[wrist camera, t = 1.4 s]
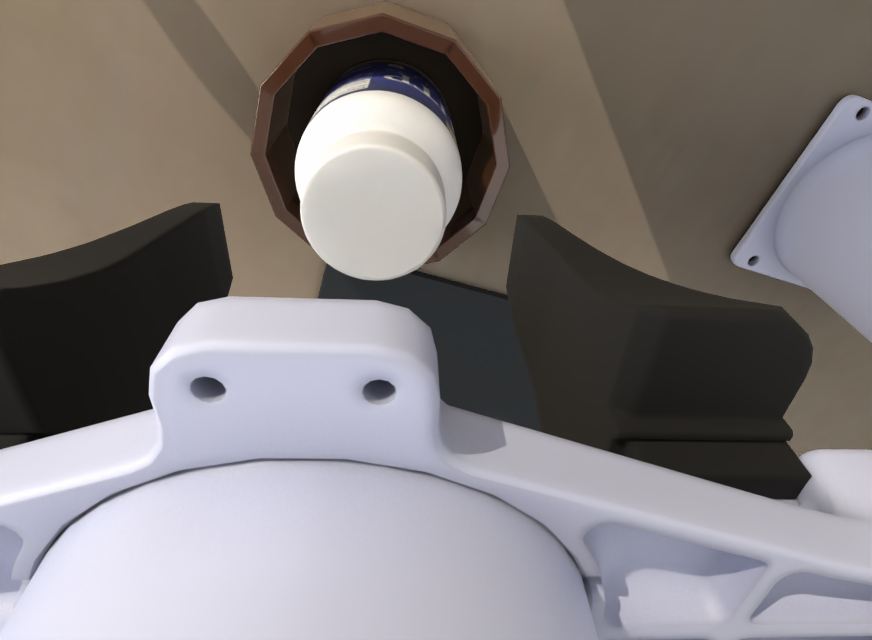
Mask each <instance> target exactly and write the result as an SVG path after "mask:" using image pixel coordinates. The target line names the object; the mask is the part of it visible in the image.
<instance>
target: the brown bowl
mask: <svg viewBox="0 0 872 640" xmlns="http://www.w3.org/2000/svg"><path fill="white" fill-rule="evenodd" d="M381 32H384V33H386V34H389V35H392V36H395V37H398V38H400V39H403V40H406V41H409V42H411V43H414V44H417V45H420V46H423V47H425V48H428V49H431V50H434V51H437V52H439V53H442V54H445V55H446V56H447V57H448V58H449V59H450V61H451V62H452V63H453V64H454V66H455V67H456V68H457V69H458V71H459V72H460V73H461V74H462V76H463V77H464V78H465V79H466V81H467V82H468V83H469V84H470V85H471V87H472V88H473V89H474V90H475V92H476V93H477V97H478V104H479V110H480V117H481V123H482V130H483V134H482V137H481V139H480V142H479V145H478V147H477V150H476V153H475V155H474V158H473V161H472V163H471V166H470V169H469V172H468V174H467V177H466V179H465V180H464V181H463V182H462V189H461V195H460V199H459V202H458V205H457V208H456V210H455V212H454V214H453V216H452V218H451V220H450V222H449V223H448V224H447V226H446V227H445V231H444V234H443V237H442V240H441V242H440V244H439V246H438V248H437V249H436V251H435V252H434V253H433V255H432V256H431V257H430V258H429V259H428V260H427V261H426V262H425V263H424V264H427V263H432V262H437V261H440V260H441V259H443V258H444V257H445V256H446V255H448V254H449V253H450V252H451V251H453V250H454V249H455V248H456V247H458V246H459V245H460V244H461V243H463V242H464V241H465V240H466V239H468V238H469V237H470V236H471V235H473V234H474V233H475V232H476V231H478V230H479V229H480V228H481V227H483V226H484V225H485V224H486V223H487V220H488V218H489V215H490V213H491V211H492V208H493V206H494V203H495V201H496V199H497V196H498V194H499V191H500V189H501V186H502V184H503V182H504V179H505V177H506V174H507V172H508V170H509V167H510V162H509V155H508V147H507V139H506V132H505V124H504V116H503V108H502V101H501V97H500V95H499V94H498V92H497V90H496V88H495V87H494V85H493V83H492V81H491V80H490V78H489V76H488V75H487V73H486V72H485V70H484V69H483V68H482V67H481V65H480V64H479V63H478V61H477V60H476V59H475V58H474V56H473V55H472V54H471V52H470V51H469V50H468V49H467V47H466V46H465V45H464V43H463V42H462V41H461V40H460V38H459V37H458V36H457V34H456V33H455V32H454V31H453V29H452V28H451V27H450V25H449V24H448V23H446V22H443V21H440V20H437V19H435V18H432V17H429V16H427V15H424V14H421V13H419V12H416V11H413V10H411V9H408V8H405V7H403V6H400V5H397V4H395V3H392V2H389V1H383V2H379V3H375V4H371V5H367V6H363V7H359V8H355V9H351V10H347V11H342V12H338V13H334V14H330V15H326V16H324V17H323V18H322V19H321V20H320V21H318V22H317V23H316V24H315V25H314V26H313V27H312V28H311V29H310V30H309V31H308V32H307V33H306V34H305V35H304V36H303V37H302V38H301V40H300V41H299V42H298V43H297V44H296V45H295V46H294V47H293V49H292V50H291V51H290V52H289V53H288V54H287V55H286V56H285V58H284V59H283V60H282V61H281V62H280V63H279V64H278V66H277V67H276V68H275V69H274V70H273V71H272V72H271V73H270V75H269V76H268V77H267V78H266V79H265V80H264V81H263V83H262V84H261V85H260V89H259V96H258V104H257V111H256V118H255V125H254V132H253V139H252V146H251V153H250V154H251V157H252V159H253V162H254V164H255V167H256V169H257V172H258V174H259V177H260V179H261V182H262V184H263V186H264V189H265V191H266V194H267V196H268V199H269V201H270V204H271V206H272V209H273V211H274V213H275V216H276V217H277V218H278V219H280V220H281V221H282V222H283V223H284V224H285V225H287V226H288V227H289V228H290V229H291V230H292V231H294V232H295V233H296V234H297V235H298V236H299V237H301V238H302V239H303V240H304V241H305V242H306V243H308V244H309V245H310V246H311V244H310V243H309V241H308V239H307V237H306V235H305V232H304V229H303V226H302V222H301V215H300V202H301V201H300V198H299V195H298V192H297V188H296V182H295V159H296V154H297V150H296V148H295V145H294V142H293V139H292V136H291V133H290V131H289V128H288V125H287V120H288V114H289V108H290V103H291V97H292V91H293V85H294V79H295V74H296V71H297V70H298V69H299V68H300V67H301V66H302V65H303V64H304V62H305V61H306V60H307V59H308V58H309V57H310V56H311V55H312V54H313V53H314V51H315V50H316V49H317V48H318V47H322V46H327V45H331V44H335V43H339V42H343V41H347V40H352V39H356V38H360V37H364V36H368V35H373V34H377V33H381ZM311 247H312V246H311ZM312 248H313V247H312Z"/></svg>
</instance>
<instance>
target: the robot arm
mask: <svg viewBox="0 0 872 640" xmlns="http://www.w3.org/2000/svg"><path fill="white" fill-rule="evenodd" d="M861 108H863V111H862V113H861V114H860V115H859V116H858V117H856V114H857V112H858V111H859V110H860V109H861ZM753 256H755V257H754V259H753V260H752V261H749V262H748V260H749V259H750V258H751V257H753ZM730 259H731V261H732V262H733V263H734V264H735V265H736V266H738V267H741V268H744V269H747V270H751V271H754V272H757V273H760V274H764V275H767V276H770V277H773V278H776V279H780V280H783V281H786V282H789V283H793V284H796V285H799V286H802V287H806V288H809V289H811V290H812V291H813V292H814V293H815V294H816V295H817V296H819V297H820V298H821V299H822V300H823V301H824V302H825V303H827V304H828V305H829V306H830V307H831V308H832V309H833V310H835V311H836V312H837V313H838V314H839V315H840V316H842V317H843V318H844V319H845V320H846V321H847V322H848V323H850V324H851V325H852V326H853V327H854V328H855V329H856V330H858V331H859V332H860V333H861V334H862V335H863V336H864V337H866V338H867V339H868V340H869V341H870V342H871V343H872V101H870V100H868V99H865V98H863V97H860V96H857V95H849V96H846V97H844V98H843V99H841V101H840V102H839V103H838V104H837V105H836V107H835V108H834V109H833V111H832V112H831V114H830V115H829V116H828V118H827V119H826V121H825V122H824V123H823V125H822V126H821V128H820V129H819V131H818V132H817V133H816V135H815V136H814V138H813V139H812V140H811V142H810V143H809V145H808V146H807V147H806V149H805V150H804V152H803V153H802V154H801V156H800V157H799V159H798V160H797V162H796V163H795V164H794V166H793V167H792V169H791V170H790V171H789V173H788V174H787V176H786V177H785V178H784V180H783V181H782V183H781V184H780V185H779V187H778V188H777V190H776V191H775V192H774V194H773V195H772V197H771V198H770V200H769V201H768V202H767V204H766V205H765V207H764V208H763V209H762V211H761V212H760V214H759V215H758V216H757V218H756V219H755V221H754V222H753V223H752V225H751V226H750V228H749V229H748V230H747V232H746V233H745V235H744V236H743V238H742V239H741V240H740V242H739V243H738V245H737V246H736V247H735V249H734V250H733V252H732V254H731V258H730ZM232 279H233V276H232V271H231V265H230V259H229V254H228V248H227V243H226V237H225V231H224V226H223V220H222V215H221V209H220V203H195V202H193V203H188V204H185V205H181V206H179V207H176V208H173V209H171V210H168V211H166V212H163V213H161V214H159V215H156V216H154V217H152V218H149V219H147V220H145V221H142V222H140V223H138V224H135V225H133V226H130V227H128V228H125V229H123V230H120V231H118V232H115V233H112V234H110V235H107V236H105V237H102V238H99V239H97V240H94V241H91V242H88V243H86V244H82V245H79V246H76V247H73V248H70V249H66V250H63V251H59V252H56V253H52V254H48V255H44V256H40V257H36V258H31V259H26V260H22V261H17V262H12V263H8V264H3V265H0V640H872V450H857V449H818V450H811V451H808V452H806V453H804V454H802V455H800V456H799V457H797V455H796V454H795V453H794V451H793V450H792V449H791V448H790V446H789V445H788V444H787V442H786V441H790V440H791V438H792V436H793V431H792V429H791V428H790V427H789V425H788V424H787V423H786V421H785V420H784V419H783V418H782V417H783V415H784V414H785V412H786V410H787V408H788V407H789V405H790V403H791V402H792V400H793V398H794V397H795V395H796V393H797V391H798V390H799V388H800V386H801V385H802V383H803V381H804V379H805V378H806V375H807V373H808V370H809V368H810V366H811V363H812V353H813V347H812V344H811V341H810V338H809V335H808V334H807V333H806V332H805V331H804V330H803V328H802V327H801V326H800V325H799V324H798V323H797V322H796V321H795V320H794V319H793V318H792V317H791V316H790V315H789V314H788V313H787V312H786V311H785V310H784V309H783V308H782V307H780V306H774V305H767V304H761V303H755V302H748V301H742V300H736V299H730V298H726V297H721V296H717V295H713V294H708V293H704V292H700V291H696V290H693V289H689V288H685V287H682V286H679V285H676V284H673V283H670V282H667V281H664V280H661V279H658V278H656V277H653V276H650V275H648V274H645V273H643V272H641V271H638V270H636V269H634V268H632V267H629V266H627V265H625V264H623V263H621V262H619V261H617V260H615V259H613V258H611V257H610V256H608V255H606V254H604V253H602V252H601V251H599V250H597V249H595V248H594V247H592V246H590V245H589V244H587V243H586V242H584V241H582V240H581V239H579V238H578V237H576V236H575V235H573V234H572V233H570V232H569V231H567V230H566V229H564V228H563V227H561V226H560V225H558V224H556V223H555V222H553V221H552V220H550V219H548V218H546V217H544V216H536V215H517V220H516V226H515V233H514V239H513V246H512V252H511V259H510V265H509V272H508V278H507V285H506V287H507V295H508V302H509V308H510V314H511V319H512V322H513V325H514V328H515V332H516V335H517V338H518V341H519V344H520V347H521V350H522V354H523V357H524V360H525V363H526V366H527V369H528V372H529V375H530V378H531V382H532V386H533V390H534V393H535V398H536V404H537V409H538V415H539V420H540V426H541V432H539V431H535V430H532V429H528V428H525V427H522V426H518V425H515V424H511V423H508V422H504V421H501V420H497V419H494V418H490V417H487V416H484V415H480V414H477V413H473V412H470V411H466V410H463V409H459V408H456V407H452V406H449V405H447V404H446V403H445V402H444V401H442V400H441V399H440V389H439V374H438V359H437V351H436V347H435V343H434V339H433V335H432V332H431V328H430V327H429V326H428V325H427V324H425V323H424V322H423V321H422V320H421V319H420V318H419V317H417V316H416V315H415V314H414V313H413V312H412V311H411V310H410V309H408V308H405V307H401V306H397V305H393V304H389V303H385V302H381V301H377V300H349V299H312V298H275V297H237V296H229V297H227V296H228V293H229V290H230V286H231V282H232Z"/></svg>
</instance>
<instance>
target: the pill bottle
mask: <svg viewBox="0 0 872 640" xmlns="http://www.w3.org/2000/svg"><path fill="white" fill-rule="evenodd" d="M295 182H296V188H297V192H298V195H299V198H300V201H301V202H300V215H301V222H302V226H303V229H304V232H305V235H306V237H307V239H308V241H309V243H310V244H311V246H312V247H313V249H314V250H315V251H316V253H317V254H318V255H319V256H320V257H321V258H322V259H323V260H324V261H325V262H326V263H327V264H329V265H330V266H332V267H333V268H334V269H336V270H338V271H340V272H342V273H344V274H346V275H349V276H352V277H355V278H359V279H363V280H374V281H375V280H390V279H394V278H398V277H401V276H404V275H406V274H408V273H410V272H412V271H414V270H416V269H418V268H419V267H420V266H422V265H423V264H424V263H425V262H426V261H427V260H428V259H429V258H430V257H431V256H432V255H433V253H434V252H435V251H436V249H437V248H438V246H439V244H440V242H441V240H442V237H443V234H444V231H445V227H446V226H447V224H448V223H449V222H450V220H451V218H452V216H453V214H454V212H455V210H456V208H457V205H458V202H459V199H460V195H461V189H462V167H461V159H460V155H459V151H458V146H457V142H456V137H455V133H454V129H453V125H452V120H451V116H450V112H449V109H448V106H447V104H446V101H445V99H444V97H443V95H442V93H441V92H440V90H439V89H438V87H437V86H436V85H435V84H434V83H433V81H432V80H431V79H430V78H429V77H427V76H426V75H425V74H424V73H422V72H421V71H420V70H418V69H416V68H414V67H412V66H410V65H408V64H405V63H403V62H399V61H394V60H371V61H367V62H364V63H361V64H358V65H356V66H354V67H352V68H350V69H349V70H347V71H346V72H344V73H343V74H342V75H341V76H340V77H339V78H338V79H337V80H336V81H335V82H334V83H333V85H332V86H331V87H330V89H329V90H328V91H327V93H326V95H325V96H324V98H323V100H322V101H321V103H320V105H319V107H318V108H317V110H316V112H315V113H314V115H313V117H312V118H311V120H310V122H309V124H308V125H307V127H306V129H305V131H304V133H303V135H302V138H301V140H300V143H299V146H298V149H297V154H296V159H295Z"/></svg>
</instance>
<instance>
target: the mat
mask: <svg viewBox="0 0 872 640" xmlns="http://www.w3.org/2000/svg"><path fill="white" fill-rule="evenodd" d="M318 299H349V300H377V301H381V302H385V303H389V304H393V305H397V306H401V307H405V308H408V309H410V310H411V311H412V312H413V313H414V314H415V315H416V316H417V317H419V318H420V319H421V320H422V321H423V322H424V323H425V324H427V325H428V326H429V327H430V328H431V332H432V335H433V339H434V343H435V347H436V351H437V359H438V374H439V389H440V399H441V400H442V401H444V402H445V403H446V404H447V405H449V406H452V407H456V408H459V409H463V410H466V411H470V412H473V413H477V414H480V415H484V416H487V417H490V418H494V419H497V420H501V421H504V422H508V423H511V424H515V425H518V426H522V427H525V428H528V429H532V430H535V431H539V432H541V426H540V420H539V415H538V409H537V404H536V398H535V393H534V390H533V386H532V382H531V378H530V375H529V372H528V369H527V366H526V363H525V360H524V357H523V354H522V350H521V347H520V344H519V341H518V338H517V335H516V332H515V328H514V325H513V322H512V319H511V314H510V308H509V302H508V296H506V295H502V294H498V293H494V292H491V291H487V290H483V289H479V288H476V287H472V286H468V285H464V284H461V283H457V282H453V281H449V280H446V279H442V278H438V277H434V276H431V275H427V274H423V273H419V272H416V271H412V272H410V273H408V274H406V275H404V276H401V277H398V278H394V279H390V280H375V281H374V280H363V279H359V278H355V277H352V276H349V275H346V274H344V273H342V272H340V271H338V270H336V269H334V268H333V267H332V266H330V265H329V264H327V263H326V268H325V272H324V276H323V280H322V284H321V288H320V292H319V296H318Z"/></svg>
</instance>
